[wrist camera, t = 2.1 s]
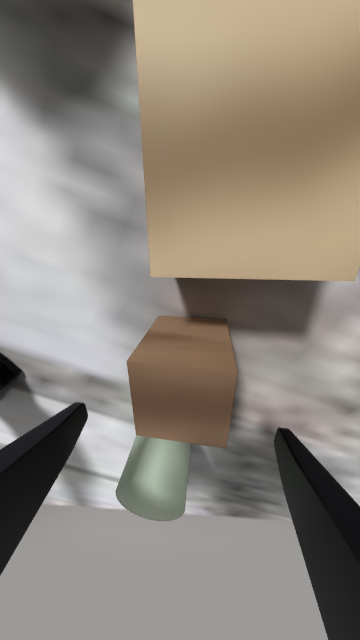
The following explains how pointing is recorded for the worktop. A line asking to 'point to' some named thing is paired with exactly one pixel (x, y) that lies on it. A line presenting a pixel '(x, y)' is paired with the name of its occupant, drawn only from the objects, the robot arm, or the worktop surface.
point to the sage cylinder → (155, 479)
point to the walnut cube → (184, 381)
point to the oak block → (251, 137)
